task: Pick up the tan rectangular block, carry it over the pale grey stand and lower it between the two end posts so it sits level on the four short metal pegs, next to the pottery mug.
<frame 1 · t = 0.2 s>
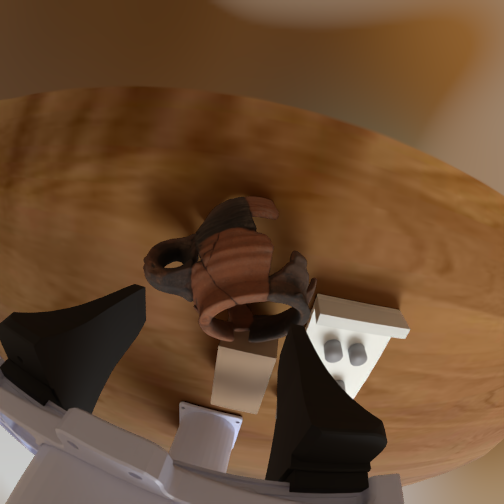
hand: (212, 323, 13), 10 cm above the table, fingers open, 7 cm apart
tan rectangular block: (247, 351, 26), on the table
peg stand: (334, 361, 25), on the table
pottery mug: (238, 254, 22), on the table
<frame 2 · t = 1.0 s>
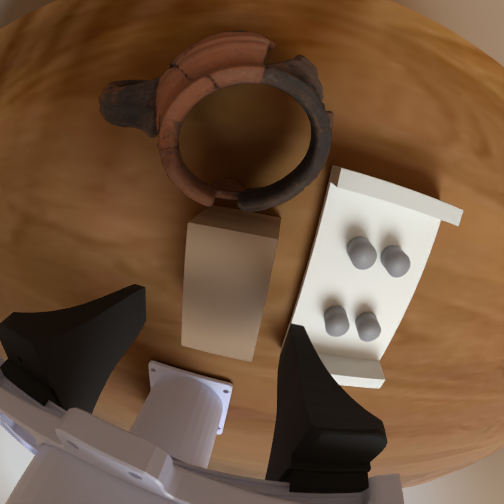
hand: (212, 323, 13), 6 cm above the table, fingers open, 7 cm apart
tan rectangular block: (236, 267, 19), on the table
peg stand: (360, 282, 18), on the table
pottery mug: (227, 112, 16), on the table
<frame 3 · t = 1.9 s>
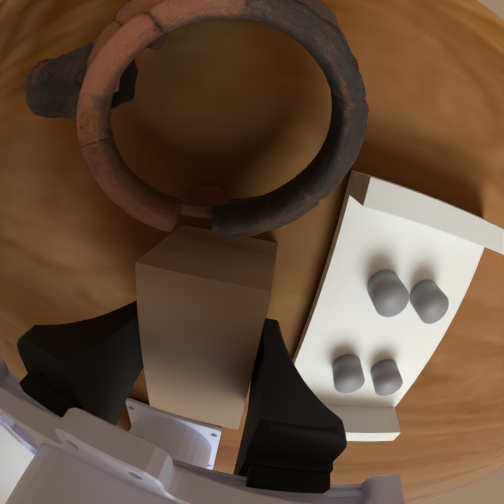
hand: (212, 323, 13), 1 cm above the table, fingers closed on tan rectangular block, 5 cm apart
tan rectangular block: (219, 306, 14), on the table, touching gripper
peg stand: (380, 323, 13), on the table
pottery mug: (205, 92, 11), on the table
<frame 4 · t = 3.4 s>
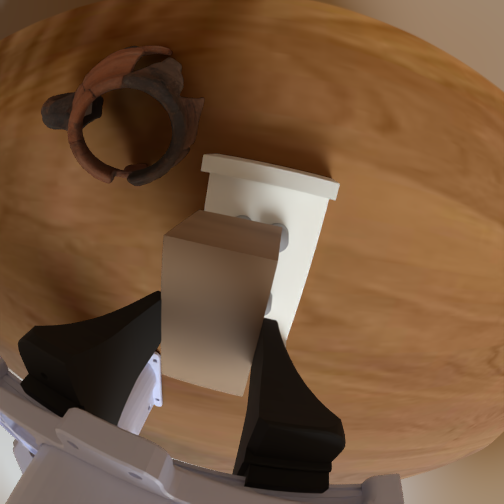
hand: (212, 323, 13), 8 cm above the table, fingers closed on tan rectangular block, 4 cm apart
tan rectangular block: (228, 284, 16), point 5 cm above the table, touching gripper
peg stand: (253, 259, 21), on the table
pottery mug: (140, 110, 18), on the table
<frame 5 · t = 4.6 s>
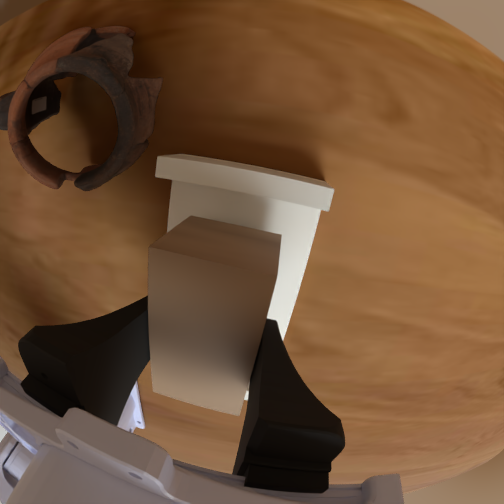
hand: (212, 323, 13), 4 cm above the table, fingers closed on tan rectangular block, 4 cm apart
tan rectangular block: (223, 295, 15), point 2 cm above the table, touching gripper, peg stand
peg stand: (230, 281, 17), on the table
pottery mug: (101, 101, 14), on the table
when the fingers open (4 cm above the table, at t = 5.1 s): tan rectangular block stays where it is, resting on peg stand.
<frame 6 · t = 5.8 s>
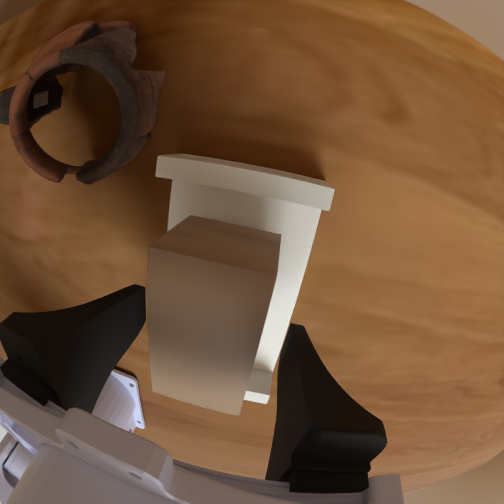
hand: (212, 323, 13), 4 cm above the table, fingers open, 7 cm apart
tan rectangular block: (223, 295, 15), point 2 cm above the table, touching peg stand
peg stand: (230, 281, 17), on the table
pottery mug: (103, 96, 14), on the table
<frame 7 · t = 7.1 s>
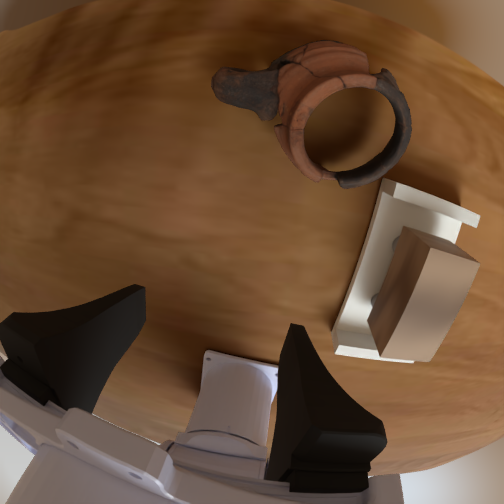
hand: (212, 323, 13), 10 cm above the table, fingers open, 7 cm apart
tan rectangular block: (409, 281, 19), point 2 cm above the table, touching peg stand
peg stand: (399, 272, 21), on the table
pottery mug: (309, 106, 18), on the table
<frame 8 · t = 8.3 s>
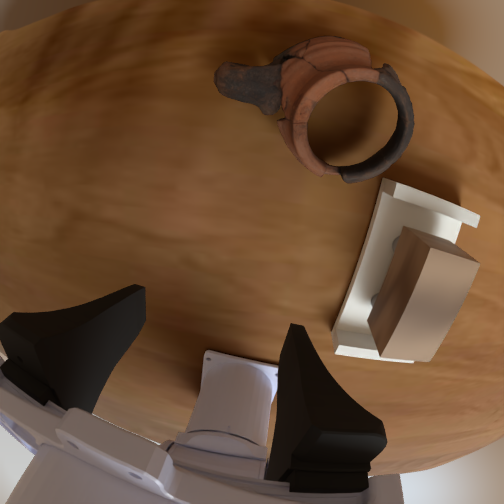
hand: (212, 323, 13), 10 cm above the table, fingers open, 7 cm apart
tan rectangular block: (409, 281, 19), point 2 cm above the table, touching peg stand
peg stand: (399, 272, 21), on the table
pottery mug: (311, 102, 18), on the table
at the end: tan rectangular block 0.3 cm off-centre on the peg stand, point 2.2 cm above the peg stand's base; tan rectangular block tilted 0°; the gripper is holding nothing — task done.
